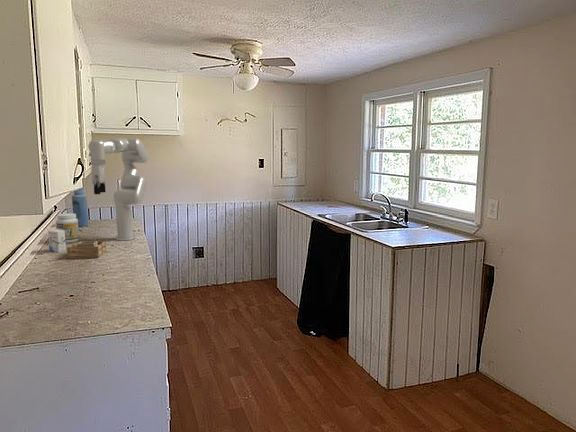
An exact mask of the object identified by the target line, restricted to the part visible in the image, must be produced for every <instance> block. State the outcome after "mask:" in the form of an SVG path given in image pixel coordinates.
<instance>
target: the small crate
mask: <svg viewBox="0 0 576 432" xmlns="http://www.w3.org/2000/svg"><path fill="white" fill-rule="evenodd" d="M97 241H98V240H88V241H87V240H83V241H81V240H80V241H77V242H78V243H77V244H76V245H77V247H97V246H98V243H97ZM77 252H96V251H77Z"/></svg>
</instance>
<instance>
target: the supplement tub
mask: <svg viewBox="0 0 576 432" xmlns="http://www.w3.org/2000/svg"><path fill="white" fill-rule="evenodd" d="M56 216H57V217H56V218H57V219H56V221H55V223H56V225H55V227H56V229H59V230H64V231H65V243H66V244H70V243H72V244H73V243H75V242H79V239H80V234H79V232H80V230H79V227H78V219H77V218H76V214H74V213H73V212H70V213H68V212H67V213H59V214H57V215H56Z"/></svg>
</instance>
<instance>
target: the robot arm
mask: <svg viewBox="0 0 576 432" xmlns="http://www.w3.org/2000/svg"><path fill="white" fill-rule="evenodd" d="M87 148H88V149H89V150H88V151H89V155H90V157H89V158H90V166H91V184H93V193H94V195H101V193H106V191H107V190H106V171H105V166H106V154H109V155H110V154H117V153H118V154H119V153H121V160H122V164H123V166H124V167H123V168H124V171H123V174H122V177H121V180H120V189H117V190H115V191H114V192H113V201H114V205H115V217H116V218H115V219H116V232H117V234H116V235H117V236H115V237H114V240H116V241H132V240H135V239H136V238H137V237H136V235H134V223H133V222H134V221H133V210H132V208H131V207H130V206H132V205H135V206H138V205H140V204H142V202H143V200H144V196H145V194H146V193H145V192H146V190H147V179H146V177H145V176H143V175H138V174H139V170H138V168H137V167H136V165H135V164H137V163H138V164H139V163H140V164H141V163H142V164H143V163H144V164H145V163H147V161H148V160H149V153H148V151H147V148H146V147H145V146H144V144H143V142H142V141H141V140H140V139H139V138H137V137H120V138H118V137H116V138H108V139H107V138H106V139H93V140H90V141H89V143H88V147H87Z"/></svg>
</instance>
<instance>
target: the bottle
mask: <svg viewBox="0 0 576 432" xmlns="http://www.w3.org/2000/svg"><path fill="white" fill-rule="evenodd" d="M71 203H72V213H74V214H76V218H77V219H78V228H83V226H85V227H88V226H89V214H88V213H89V211H88V199H87V195H86V194H85V192H84V186H83V187H82V188H81V189H79V190H77V191H74V190H73V195H71Z"/></svg>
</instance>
